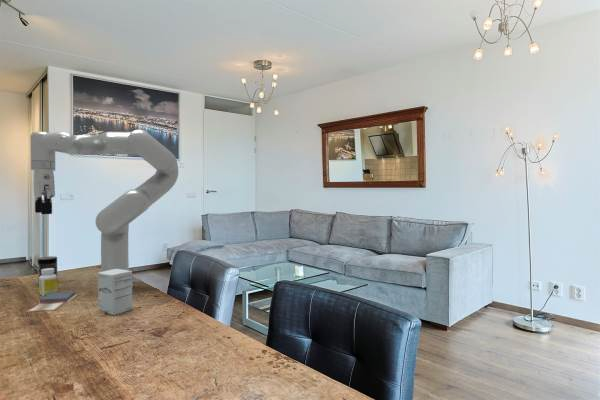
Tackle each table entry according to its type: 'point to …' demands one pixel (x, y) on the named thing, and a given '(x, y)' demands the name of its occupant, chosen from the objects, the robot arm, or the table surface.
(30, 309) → the stamping board
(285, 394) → the table surface
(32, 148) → the robot arm
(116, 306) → the supplement box
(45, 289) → the supplement bottle
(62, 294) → the ink pad
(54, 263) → the supplement container
